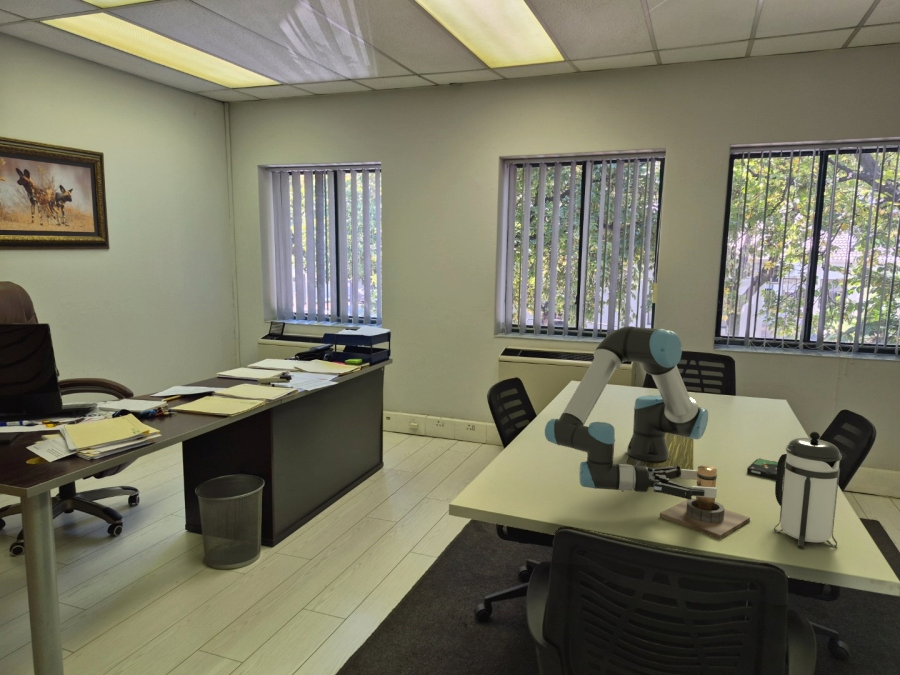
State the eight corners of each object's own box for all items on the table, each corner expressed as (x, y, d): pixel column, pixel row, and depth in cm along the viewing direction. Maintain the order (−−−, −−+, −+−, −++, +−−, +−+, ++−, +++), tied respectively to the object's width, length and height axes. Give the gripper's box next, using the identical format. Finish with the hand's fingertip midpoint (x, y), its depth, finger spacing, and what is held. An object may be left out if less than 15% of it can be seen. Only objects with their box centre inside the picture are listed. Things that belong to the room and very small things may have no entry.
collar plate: (690, 501, 187) (691, 488, 186) (749, 521, 173) (750, 507, 173) (659, 516, 176) (660, 503, 175) (720, 539, 162) (721, 524, 161)
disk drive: (779, 482, 206) (787, 470, 218) (779, 474, 206) (788, 463, 217) (746, 475, 213) (756, 464, 224) (747, 467, 212) (757, 457, 224)
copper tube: (700, 509, 178) (703, 464, 176) (717, 515, 174) (720, 469, 172) (691, 514, 175) (694, 468, 173) (708, 520, 171) (711, 473, 169)
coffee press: (842, 537, 164) (854, 431, 160) (830, 558, 153) (843, 444, 149) (772, 518, 176) (782, 418, 172) (757, 536, 164) (766, 429, 160)
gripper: (627, 475, 189) (698, 480, 185) (638, 507, 164) (720, 514, 161) (628, 452, 188) (700, 457, 184) (640, 481, 163) (722, 487, 160)
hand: (709, 483), depth 173 cm, fingers open, 13 cm apart
